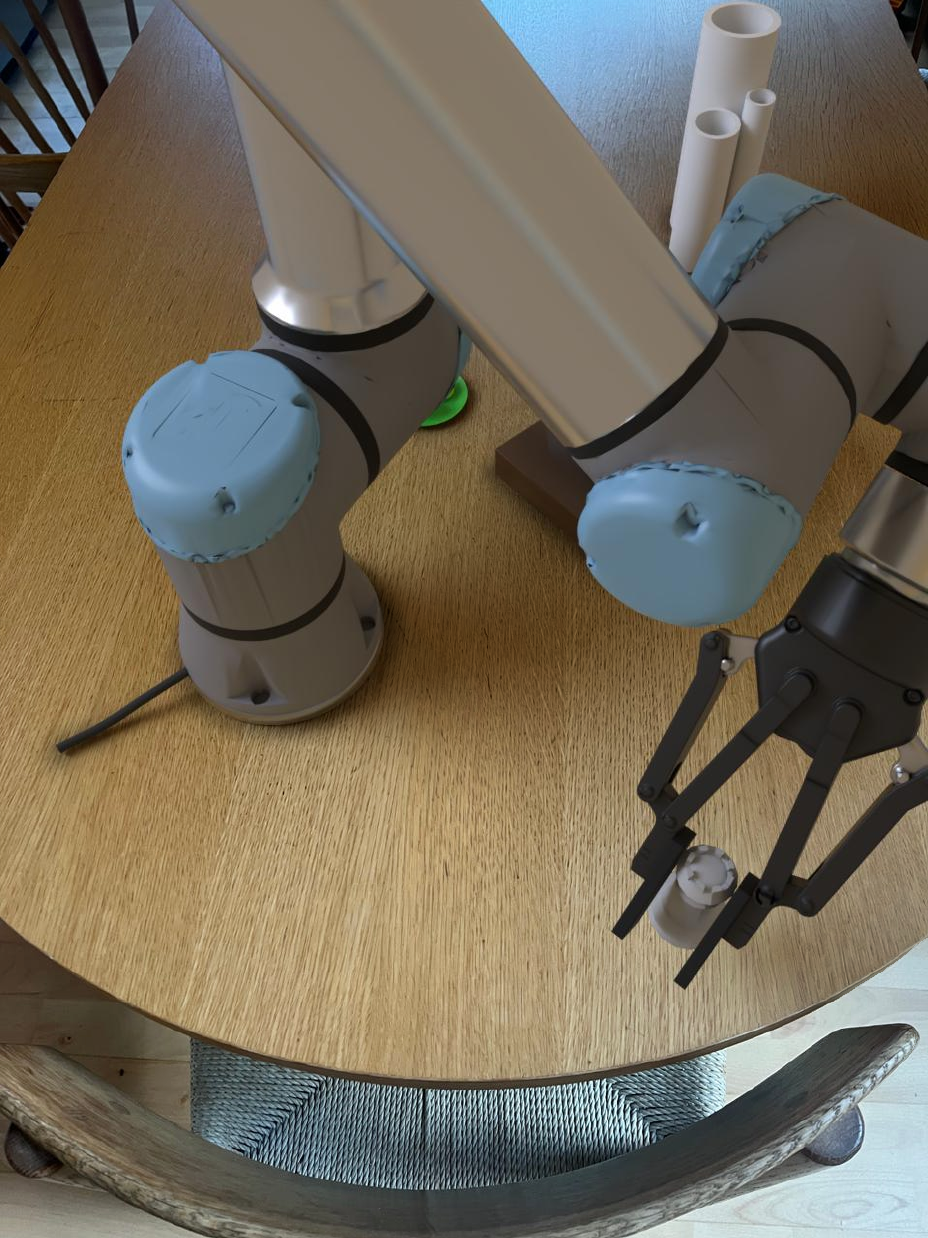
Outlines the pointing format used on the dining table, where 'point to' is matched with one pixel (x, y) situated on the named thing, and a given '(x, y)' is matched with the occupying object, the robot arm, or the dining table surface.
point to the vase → (723, 121)
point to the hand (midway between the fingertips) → (655, 950)
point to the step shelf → (545, 476)
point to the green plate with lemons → (449, 404)
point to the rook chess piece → (693, 896)
